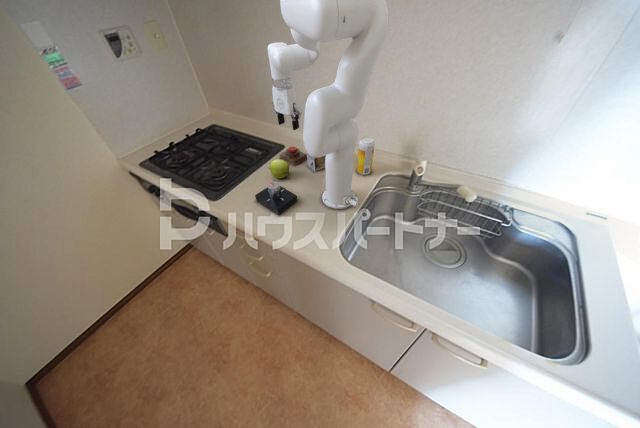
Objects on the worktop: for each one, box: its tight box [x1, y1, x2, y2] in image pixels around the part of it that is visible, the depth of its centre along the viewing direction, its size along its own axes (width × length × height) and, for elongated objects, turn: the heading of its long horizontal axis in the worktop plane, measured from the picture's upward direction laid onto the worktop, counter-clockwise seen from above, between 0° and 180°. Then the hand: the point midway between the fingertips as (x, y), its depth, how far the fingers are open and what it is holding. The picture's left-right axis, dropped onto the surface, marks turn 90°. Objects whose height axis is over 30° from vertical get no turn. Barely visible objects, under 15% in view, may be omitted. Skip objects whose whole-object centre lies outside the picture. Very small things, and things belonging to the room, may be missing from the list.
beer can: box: [356, 136, 376, 176], centre depth 99 cm, size 6×6×15 cm
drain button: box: [287, 146, 297, 153], centre depth 111 cm, size 4×4×2 cm
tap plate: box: [254, 185, 298, 216], centre depth 92 cm, size 13×10×3 cm
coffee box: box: [306, 152, 326, 173], centre depth 104 cm, size 9×6×16 cm
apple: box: [268, 158, 290, 179], centre depth 102 cm, size 8×9×8 cm
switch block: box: [279, 147, 307, 166], centre depth 113 cm, size 10×8×4 cm
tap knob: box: [266, 180, 281, 199], centre depth 89 cm, size 4×4×5 cm
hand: (288, 126), depth 103 cm, fingers open, 8 cm apart
